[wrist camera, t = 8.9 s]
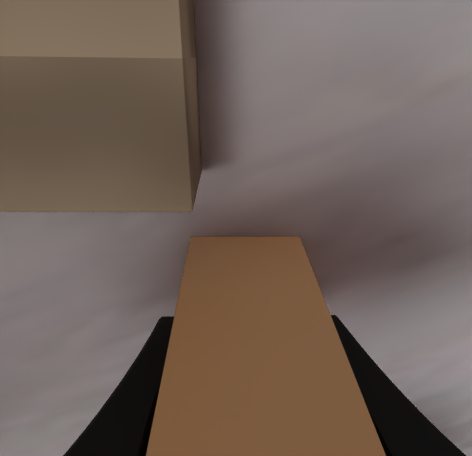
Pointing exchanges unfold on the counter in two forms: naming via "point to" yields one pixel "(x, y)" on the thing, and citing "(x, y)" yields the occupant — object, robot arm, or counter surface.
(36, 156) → the socket plate
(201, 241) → the tan cardboard box
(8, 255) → the counter surface
